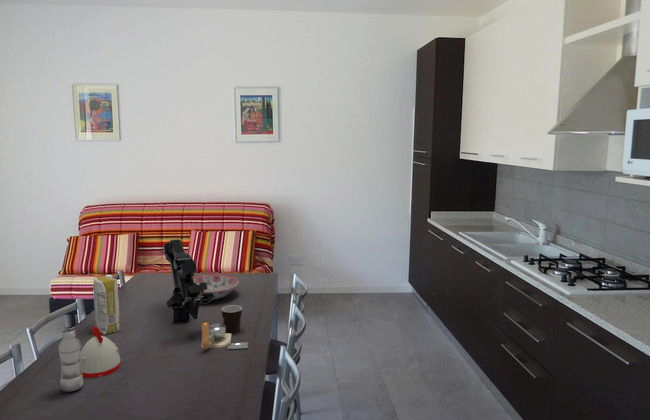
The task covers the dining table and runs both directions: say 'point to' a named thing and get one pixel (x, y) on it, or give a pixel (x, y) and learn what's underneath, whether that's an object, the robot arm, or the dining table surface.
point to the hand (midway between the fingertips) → (195, 319)
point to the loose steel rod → (237, 345)
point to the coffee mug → (232, 318)
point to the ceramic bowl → (217, 284)
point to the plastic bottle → (70, 361)
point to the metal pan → (211, 332)
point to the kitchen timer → (99, 356)
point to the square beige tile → (219, 341)
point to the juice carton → (106, 304)
